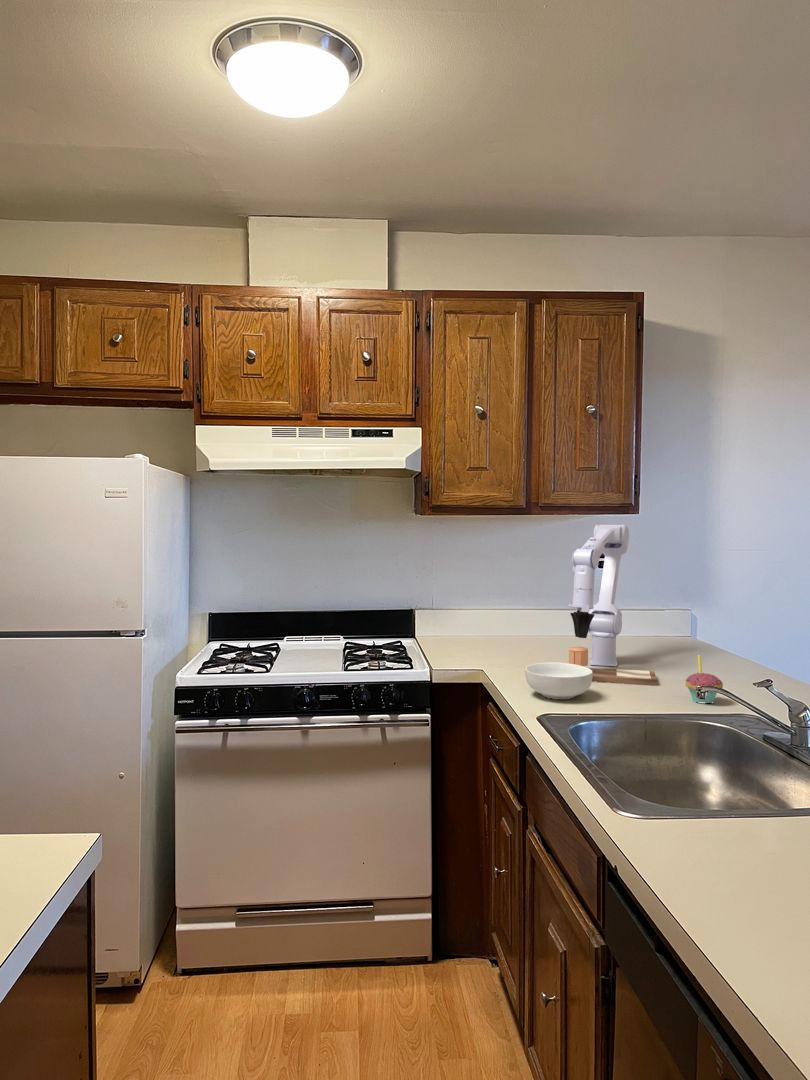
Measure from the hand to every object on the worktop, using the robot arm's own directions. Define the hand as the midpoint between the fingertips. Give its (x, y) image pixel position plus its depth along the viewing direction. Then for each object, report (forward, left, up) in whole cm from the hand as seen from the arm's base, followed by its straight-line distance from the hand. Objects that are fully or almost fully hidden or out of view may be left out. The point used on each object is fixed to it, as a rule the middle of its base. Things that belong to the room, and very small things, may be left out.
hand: (580, 637), depth 204 cm
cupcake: (+20, +30, -12) cm, 38 cm away
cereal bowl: (+23, -5, -12) cm, 27 cm away
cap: (0, -1, -8) cm, 8 cm away
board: (0, +6, -11) cm, 13 cm away
